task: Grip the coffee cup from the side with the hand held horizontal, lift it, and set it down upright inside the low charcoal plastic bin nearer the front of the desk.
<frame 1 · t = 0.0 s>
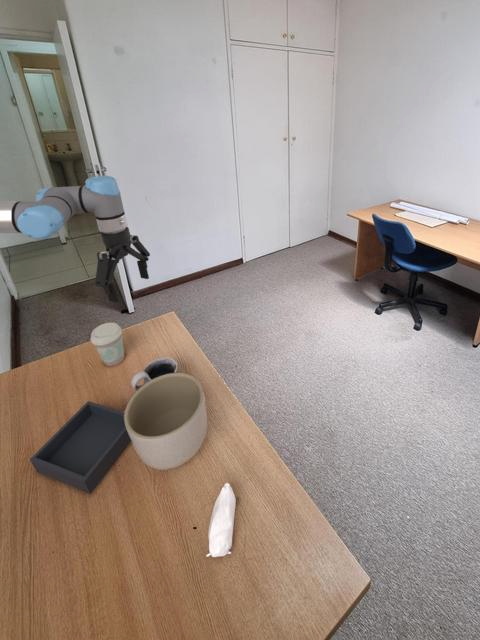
hand: (130, 289, 105), 21 cm above the table, tool pointing down, fingers open, 13 cm apart
mug: (160, 391, 95), on the table
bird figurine: (225, 529, 66), on the table
bin: (91, 449, 80), on the table
coffee cup: (114, 359, 106), on the table
planter: (176, 444, 81), on the table
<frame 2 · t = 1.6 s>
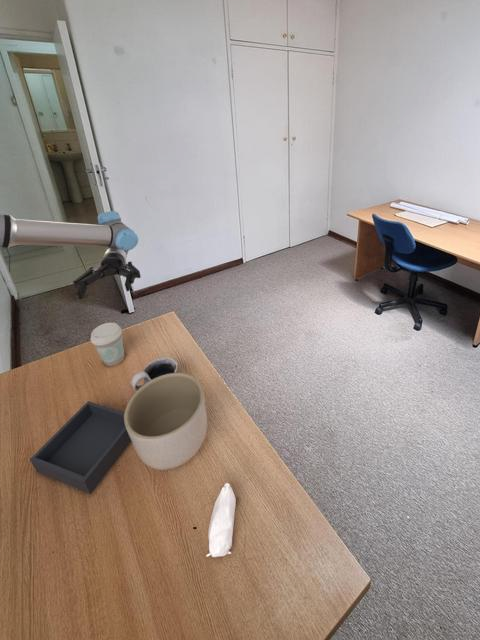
hand: (103, 291, 105), 20 cm above the table, tool horizontal, fingers open, 13 cm apart
nothing on the table moved.
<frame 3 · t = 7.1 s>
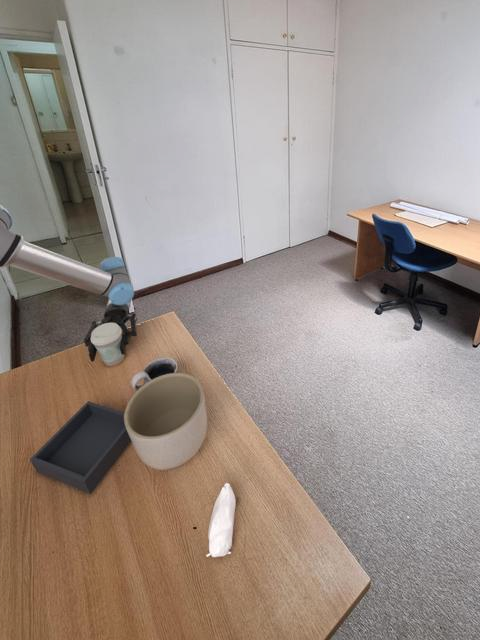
hand: (107, 354, 99), 7 cm above the table, tool horizontal, fingers closed on coffee cup, 8 cm apart
coffee cup: (114, 359, 106), on the table, touching gripper
everything else where it was.
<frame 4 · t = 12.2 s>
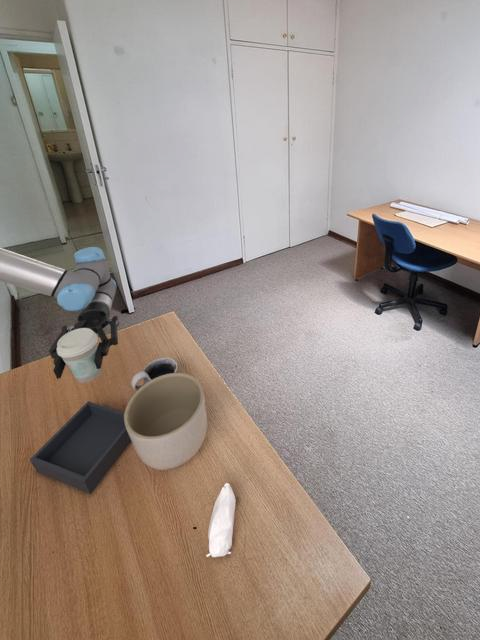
hand: (77, 369, 77), 20 cm above the table, tool horizontal, fingers closed on coffee cup, 8 cm apart
coffee cup: (89, 374, 84), point 13 cm above the table, touching gripper
everything else where it was.
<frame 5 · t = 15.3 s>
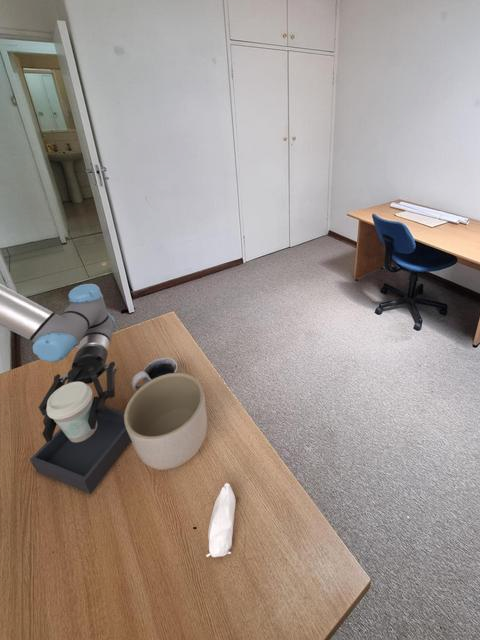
hand: (69, 431, 70), 14 cm above the table, tool horizontal, fingers closed on coffee cup, 8 cm apart
coffee cup: (83, 430, 77), point 7 cm above the table, touching gripper
everything else where it was.
when the fingers open (7 cm above the table, at t = 17.6 s): coffee cup stays where it is, resting on bin.
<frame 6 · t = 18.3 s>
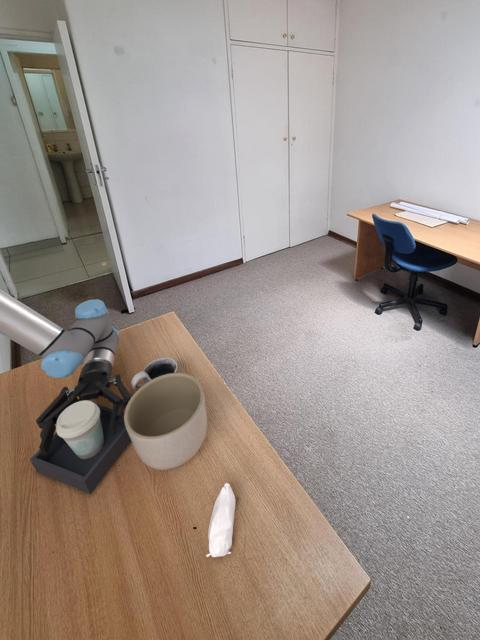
hand: (78, 440, 73), 8 cm above the table, tool horizontal, fingers open, 13 cm apart
coffee cup: (91, 447, 79), point 1 cm above the table, touching bin
everything else where it was.
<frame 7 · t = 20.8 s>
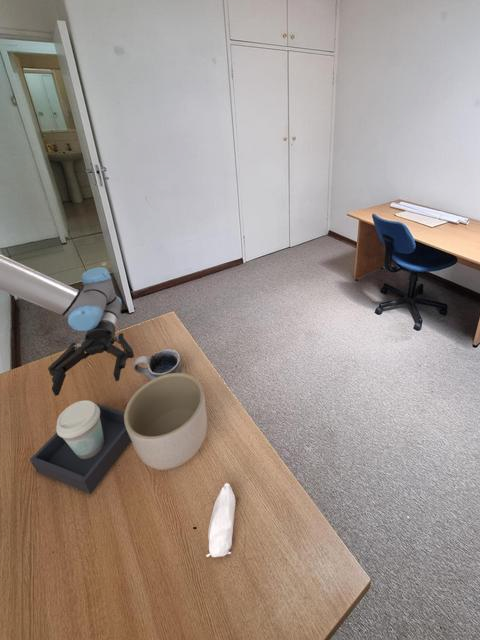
hand: (86, 384, 83), 12 cm above the table, tool horizontal, fingers open, 13 cm apart
mug: (162, 380, 98), on the table
everything else where it was.
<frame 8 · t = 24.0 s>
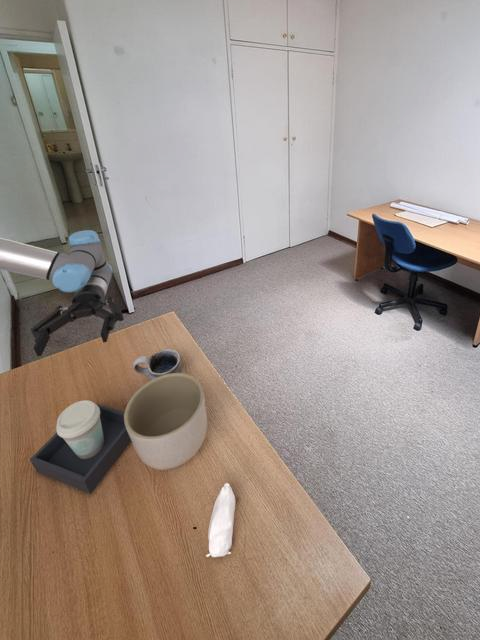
hand: (71, 344, 77), 25 cm above the table, tool horizontal, fingers open, 13 cm apart
nothing on the table moved.
at the end: coffee cup inside the target area in the bin (0.0 cm from its centre), point 0.6 cm above the bin's base; coffee cup tilted 0°; the gripper is holding nothing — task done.
